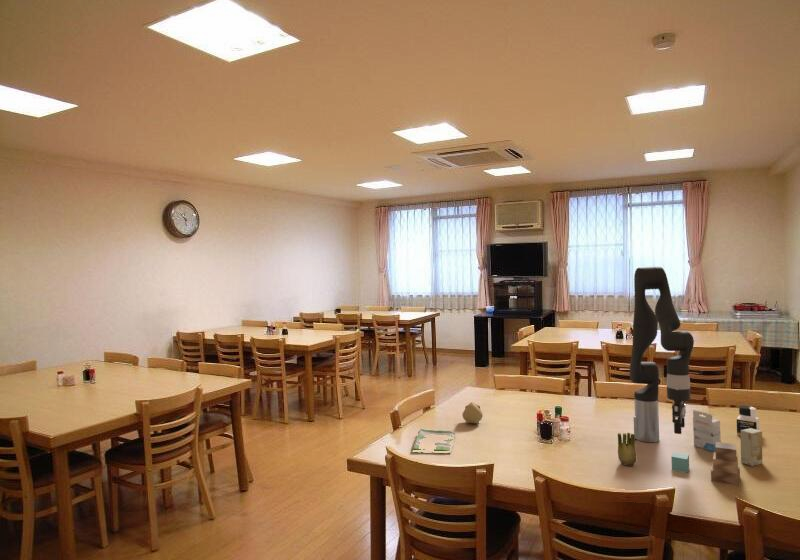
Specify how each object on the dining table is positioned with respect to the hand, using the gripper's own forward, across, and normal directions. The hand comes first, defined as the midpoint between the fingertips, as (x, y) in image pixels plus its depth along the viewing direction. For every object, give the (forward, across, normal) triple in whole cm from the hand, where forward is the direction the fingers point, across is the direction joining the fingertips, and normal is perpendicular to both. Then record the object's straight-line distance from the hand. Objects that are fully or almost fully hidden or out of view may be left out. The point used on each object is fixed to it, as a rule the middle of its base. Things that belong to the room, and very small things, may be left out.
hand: (679, 430), depth 183 cm
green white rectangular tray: (+15, +23, -92) cm, 96 cm away
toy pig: (+14, -11, -91) cm, 93 cm away
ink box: (+14, -29, +6) cm, 33 cm away
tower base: (+15, +2, +14) cm, 20 cm away
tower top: (+7, +2, +14) cm, 16 cm away
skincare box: (+14, -19, +21) cm, 32 cm away
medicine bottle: (+14, -55, +19) cm, 60 cm away
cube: (+14, 0, 0) cm, 14 cm away
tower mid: (+11, +2, +14) cm, 18 cm away
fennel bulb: (+14, +5, -17) cm, 23 cm away
